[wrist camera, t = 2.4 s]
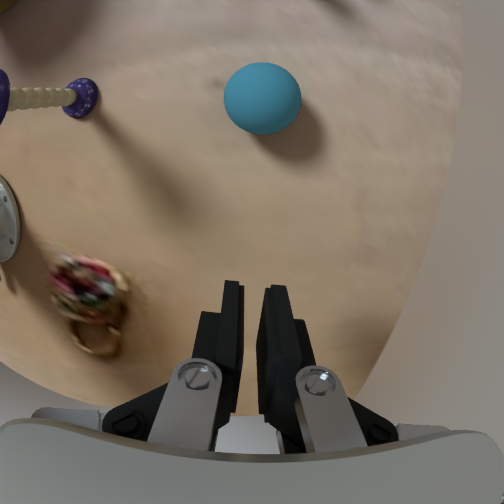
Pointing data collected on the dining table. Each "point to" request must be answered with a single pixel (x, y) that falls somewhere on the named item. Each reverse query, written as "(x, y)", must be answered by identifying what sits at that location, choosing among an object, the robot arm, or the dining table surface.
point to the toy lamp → (49, 97)
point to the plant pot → (6, 4)
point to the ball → (262, 98)
